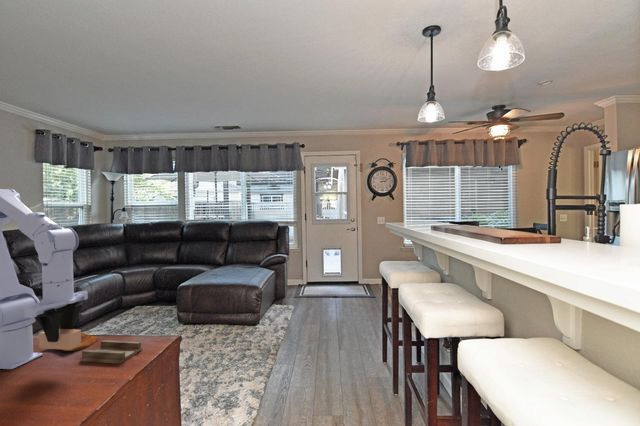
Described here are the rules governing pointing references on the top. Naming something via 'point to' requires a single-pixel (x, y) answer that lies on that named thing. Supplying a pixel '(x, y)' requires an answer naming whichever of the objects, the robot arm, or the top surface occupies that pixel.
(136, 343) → the grey u-channel
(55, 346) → the clay strip
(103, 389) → the top surface
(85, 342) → the pottery fragment
